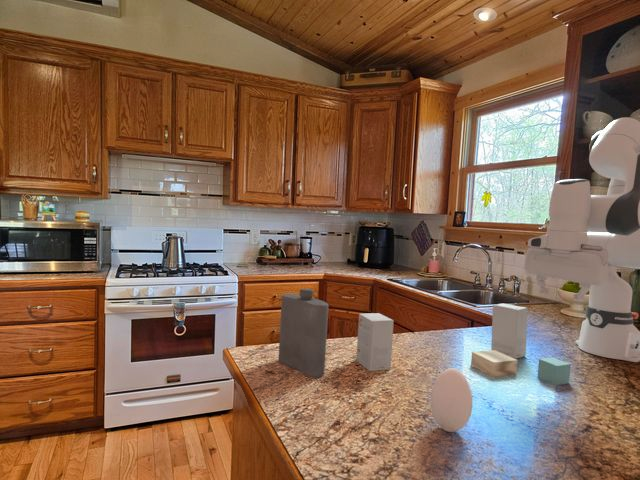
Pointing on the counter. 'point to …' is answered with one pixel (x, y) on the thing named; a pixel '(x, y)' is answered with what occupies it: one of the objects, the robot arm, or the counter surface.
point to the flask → (303, 333)
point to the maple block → (494, 363)
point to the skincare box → (509, 330)
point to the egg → (451, 400)
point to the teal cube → (554, 371)
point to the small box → (374, 341)
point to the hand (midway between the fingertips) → (560, 297)
